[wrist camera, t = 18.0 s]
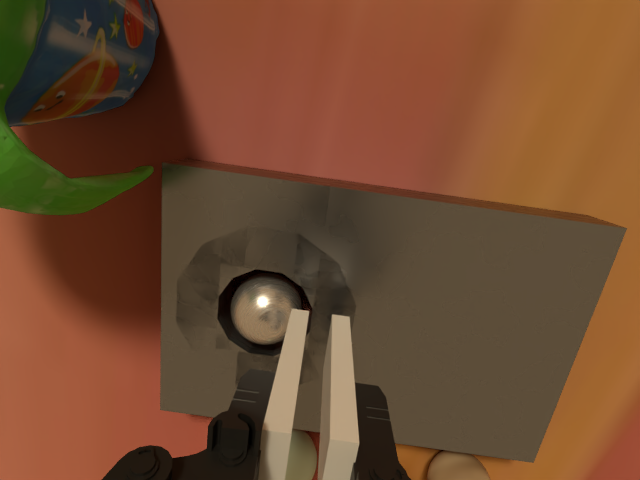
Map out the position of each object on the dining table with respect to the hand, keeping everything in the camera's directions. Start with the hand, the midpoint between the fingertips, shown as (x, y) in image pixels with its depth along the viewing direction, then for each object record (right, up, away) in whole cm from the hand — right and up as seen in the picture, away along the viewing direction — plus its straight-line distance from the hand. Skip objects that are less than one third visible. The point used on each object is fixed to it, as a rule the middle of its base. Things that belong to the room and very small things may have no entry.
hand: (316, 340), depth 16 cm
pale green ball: (-2, -8, +5) cm, 10 cm away
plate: (+3, +1, +4) cm, 5 cm away
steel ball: (-3, +1, +2) cm, 4 cm away
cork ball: (+8, -10, +5) cm, 14 cm away
